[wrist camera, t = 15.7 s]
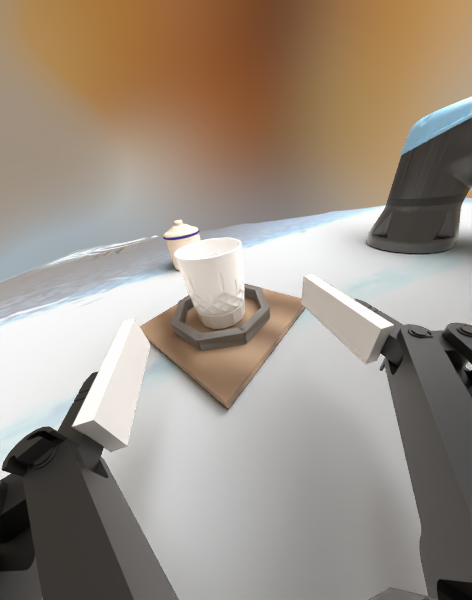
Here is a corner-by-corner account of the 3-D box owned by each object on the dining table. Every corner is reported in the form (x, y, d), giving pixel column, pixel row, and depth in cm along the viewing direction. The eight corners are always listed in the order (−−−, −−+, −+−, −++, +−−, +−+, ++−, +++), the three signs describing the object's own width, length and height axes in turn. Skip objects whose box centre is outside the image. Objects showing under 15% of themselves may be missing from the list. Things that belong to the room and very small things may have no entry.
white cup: (224, 294, 30) (212, 235, 25) (260, 309, 25) (255, 240, 20) (186, 318, 26) (161, 253, 20) (220, 342, 21) (200, 264, 15)
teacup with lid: (204, 269, 45) (192, 220, 38) (170, 273, 45) (152, 226, 39) (209, 254, 55) (200, 213, 48) (181, 258, 55) (169, 218, 49)
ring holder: (221, 282, 37) (219, 269, 35) (306, 306, 26) (307, 289, 25) (141, 333, 26) (132, 318, 25) (228, 409, 16) (222, 391, 14)
